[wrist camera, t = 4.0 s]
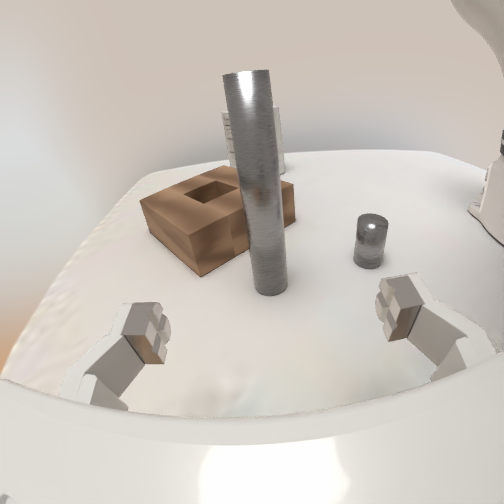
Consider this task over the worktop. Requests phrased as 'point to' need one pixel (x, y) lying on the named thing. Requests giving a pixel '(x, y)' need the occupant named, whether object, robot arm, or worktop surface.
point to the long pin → (258, 175)
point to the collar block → (205, 218)
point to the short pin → (370, 240)
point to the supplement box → (278, 136)
